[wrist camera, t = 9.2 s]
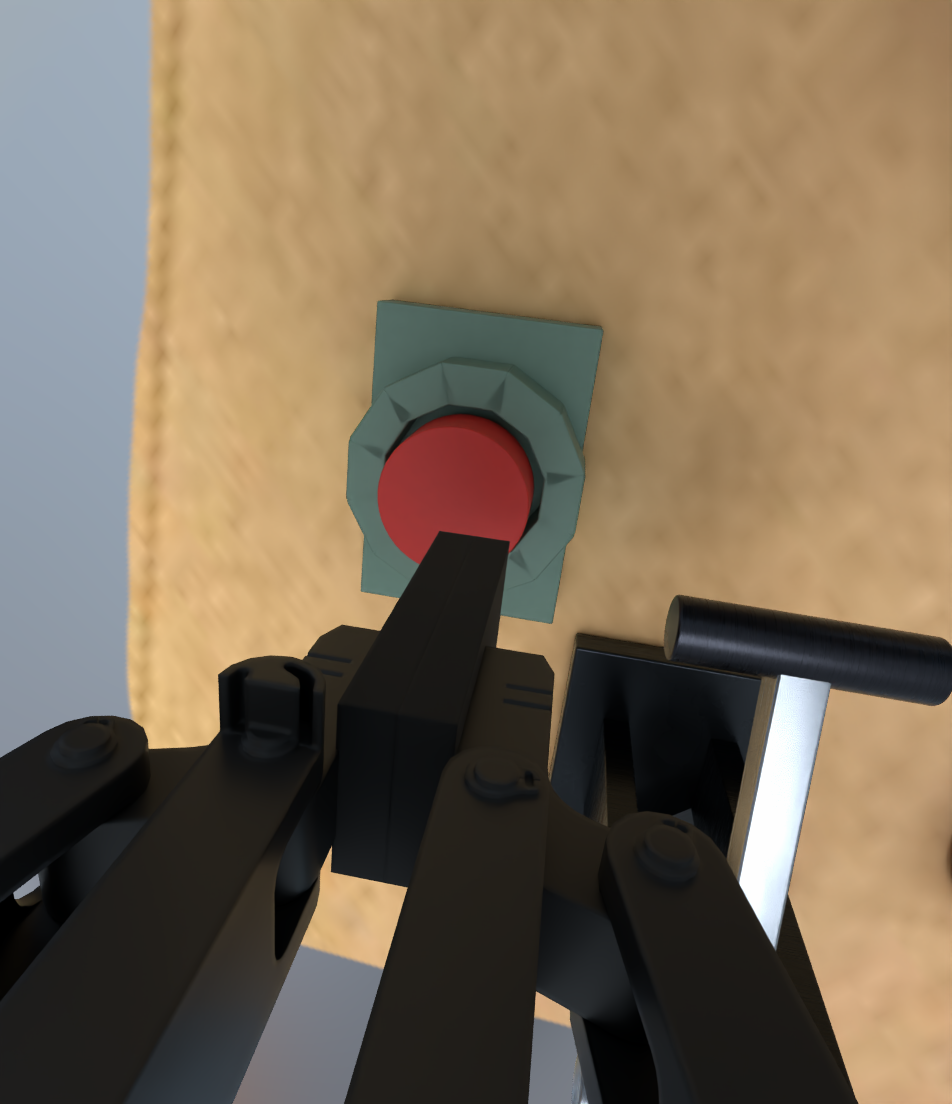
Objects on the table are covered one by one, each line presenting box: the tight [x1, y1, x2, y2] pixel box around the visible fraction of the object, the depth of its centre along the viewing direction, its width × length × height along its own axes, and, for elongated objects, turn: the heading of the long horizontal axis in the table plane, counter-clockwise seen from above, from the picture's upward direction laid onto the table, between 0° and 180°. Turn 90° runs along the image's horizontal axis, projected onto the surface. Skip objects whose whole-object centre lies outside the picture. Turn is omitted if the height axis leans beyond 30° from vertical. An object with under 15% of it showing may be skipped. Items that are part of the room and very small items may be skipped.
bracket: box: [549, 634, 855, 1104], centre depth 21 cm, size 10×8×15 cm
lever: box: [664, 595, 952, 951], centre depth 15 cm, size 13×6×2 cm, turn 174°
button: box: [378, 414, 534, 564], centre depth 21 cm, size 4×4×2 cm
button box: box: [346, 300, 603, 624], centre depth 23 cm, size 10×7×4 cm
